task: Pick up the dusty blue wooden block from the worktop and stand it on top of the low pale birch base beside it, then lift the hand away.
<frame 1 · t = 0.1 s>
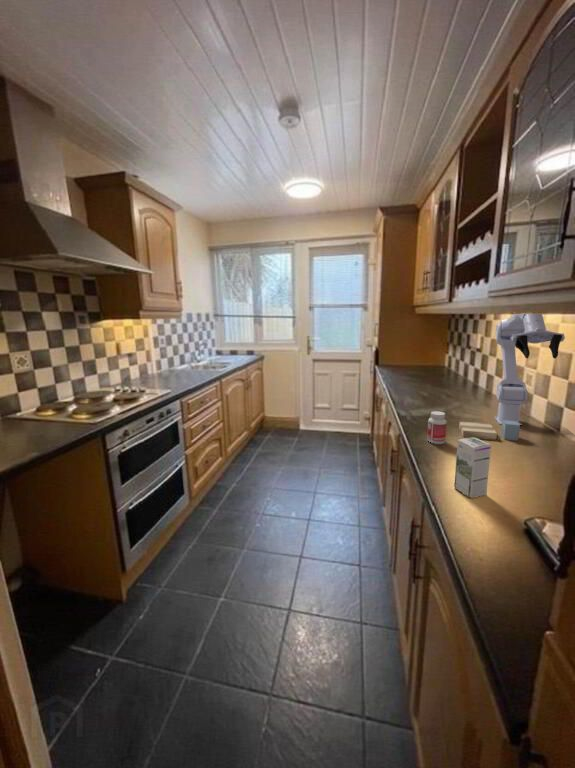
hand: (541, 356, 110), 32 cm above the worktop, tool tilted 50°, fingers open, 7 cm apart
blue block: (509, 437, 126), on the worktop
pill bottle: (436, 442, 125), on the worktop
birch base: (476, 433, 131), on the worktop
syrup box: (469, 492, 91), on the worktop
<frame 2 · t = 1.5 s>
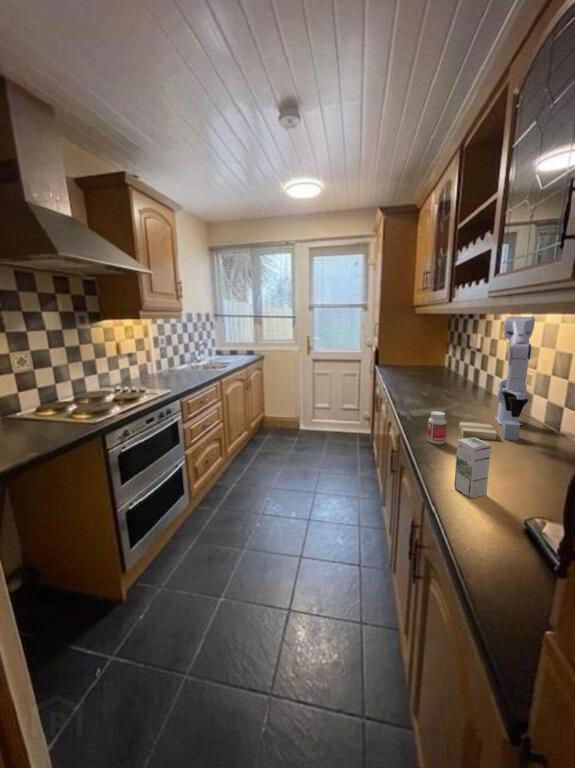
hand: (512, 413, 124), 9 cm above the worktop, tool pointing down, fingers open, 7 cm apart
nothing on the worktop moved.
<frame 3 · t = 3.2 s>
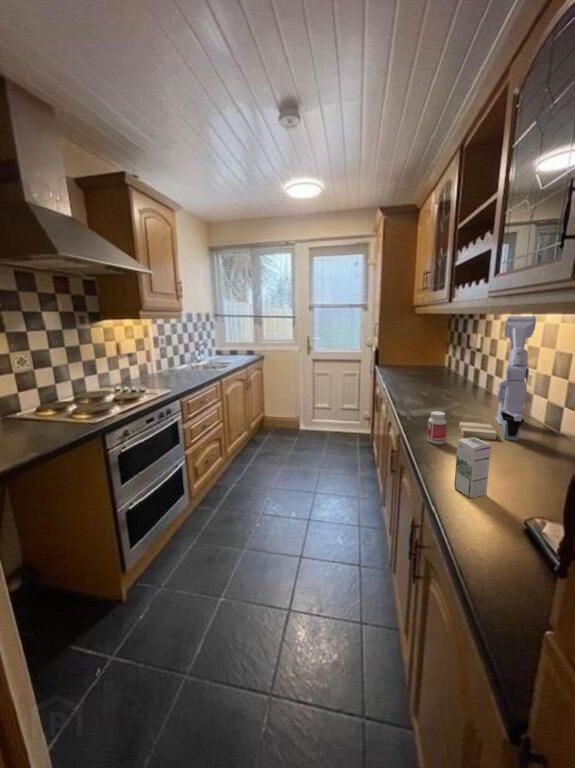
hand: (509, 433, 126), 2 cm above the worktop, tool pointing down, fingers closed on blue block, 4 cm apart
blue block: (509, 437, 126), on the worktop, touching gripper
everything else where it was.
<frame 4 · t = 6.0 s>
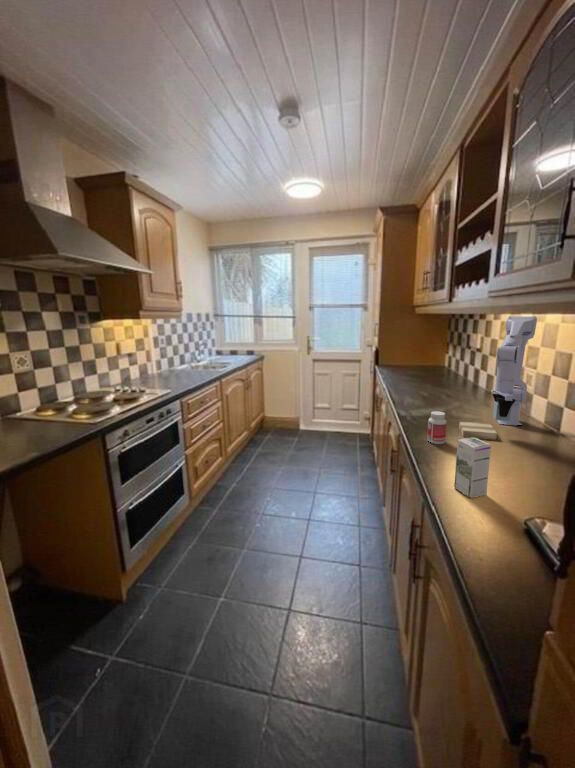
hand: (501, 414, 126), 9 cm above the worktop, tool pointing down, fingers closed on blue block, 4 cm apart
blue block: (501, 418, 126), point 7 cm above the worktop, touching gripper
everything else where it was.
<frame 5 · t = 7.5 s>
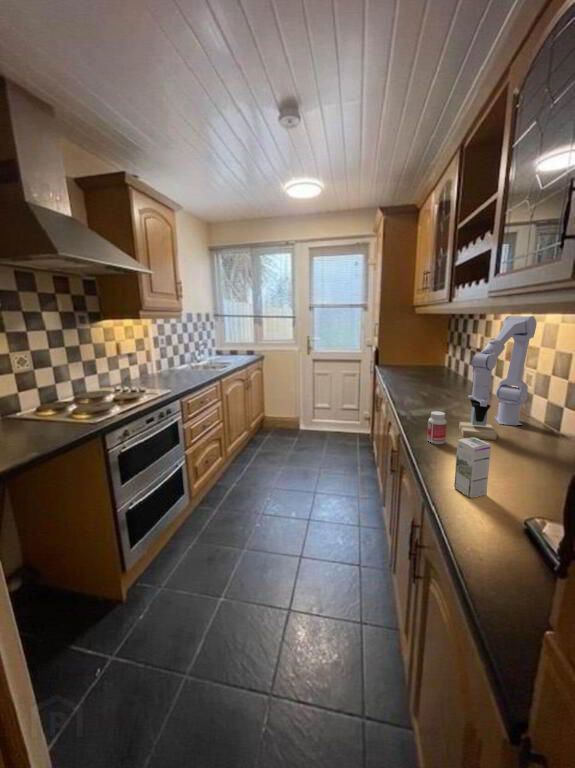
hand: (478, 419, 130), 6 cm above the worktop, tool pointing down, fingers closed on blue block, 4 cm apart
blue block: (478, 423, 131), point 4 cm above the worktop, touching gripper
everything else where it was.
when the fingers open (5 cm above the worktop, at t = 8.8 s): blue block stays where it is, resting on birch base.
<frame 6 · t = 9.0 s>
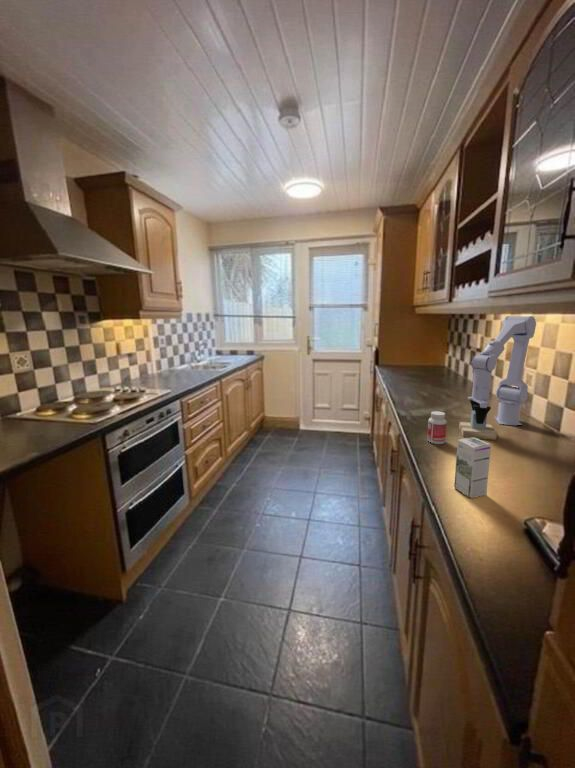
hand: (478, 420, 130), 5 cm above the worktop, tool pointing down, fingers open, 6 cm apart
blue block: (477, 427, 131), point 2 cm above the worktop, touching birch base
everything else where it was.
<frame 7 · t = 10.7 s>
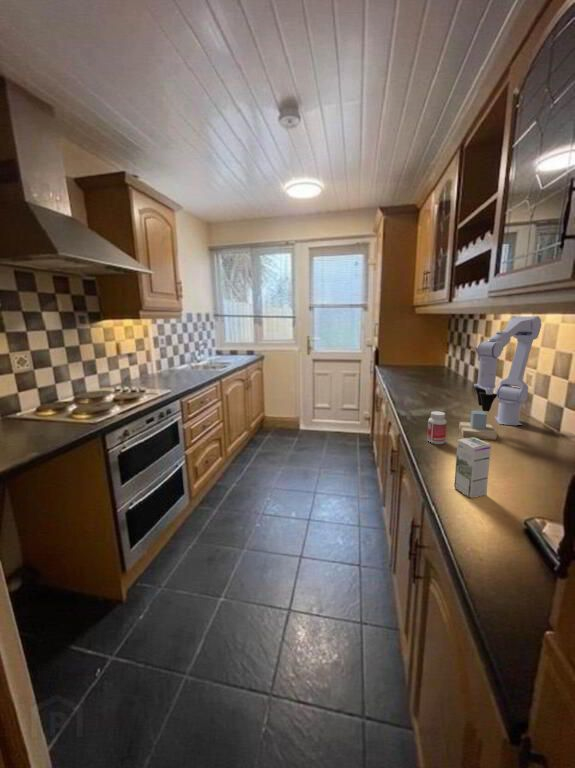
hand: (483, 408, 130), 10 cm above the worktop, tool pointing down, fingers open, 7 cm apart
nothing on the worktop moved.
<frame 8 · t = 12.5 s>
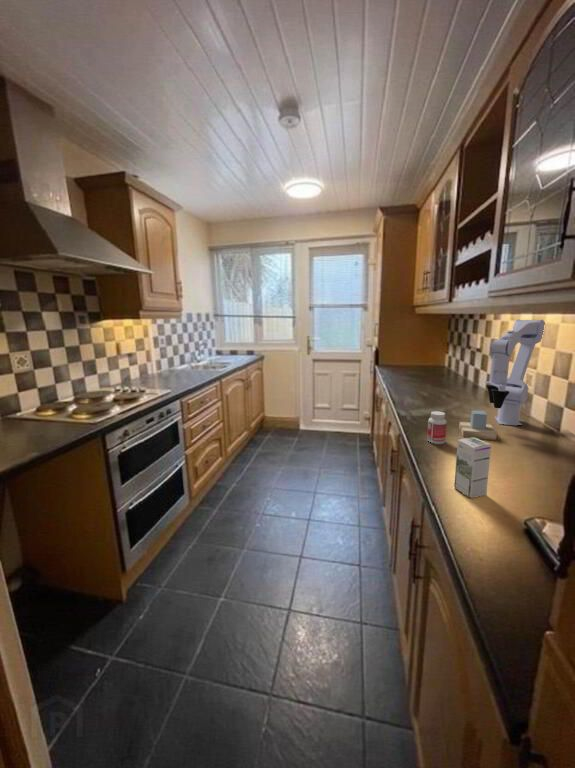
hand: (495, 405, 131), 10 cm above the worktop, tool pointing down, fingers open, 7 cm apart
nothing on the worktop moved.
at the end: blue block 0.1 cm off-centre on the birch base, point 2.5 cm above the birch base's base; blue block tilted 0°; the gripper is holding nothing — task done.
